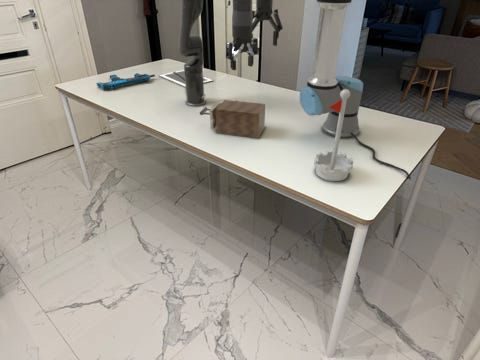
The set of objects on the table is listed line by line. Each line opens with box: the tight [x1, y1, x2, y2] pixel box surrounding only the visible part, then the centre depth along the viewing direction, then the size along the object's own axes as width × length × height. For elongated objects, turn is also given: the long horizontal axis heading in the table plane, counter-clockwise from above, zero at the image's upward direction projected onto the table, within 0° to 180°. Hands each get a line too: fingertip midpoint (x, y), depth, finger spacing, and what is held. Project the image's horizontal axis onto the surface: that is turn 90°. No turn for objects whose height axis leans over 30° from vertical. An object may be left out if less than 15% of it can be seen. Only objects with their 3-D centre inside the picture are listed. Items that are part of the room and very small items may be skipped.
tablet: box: [158, 69, 214, 88], centre depth 216 cm, size 32×20×1 cm, turn 41°
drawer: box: [199, 101, 222, 131], centre depth 149 cm, size 23×10×9 cm, turn 74°
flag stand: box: [313, 89, 354, 182], centre depth 112 cm, size 13×13×30 cm
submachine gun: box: [95, 72, 156, 91], centre depth 209 cm, size 34×4×25 cm
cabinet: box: [215, 99, 266, 139], centre depth 148 cm, size 19×12×11 cm, turn 74°
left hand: (242, 68), depth 134 cm, fingers open, 8 cm apart
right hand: (262, 46), depth 166 cm, fingers open, 13 cm apart
